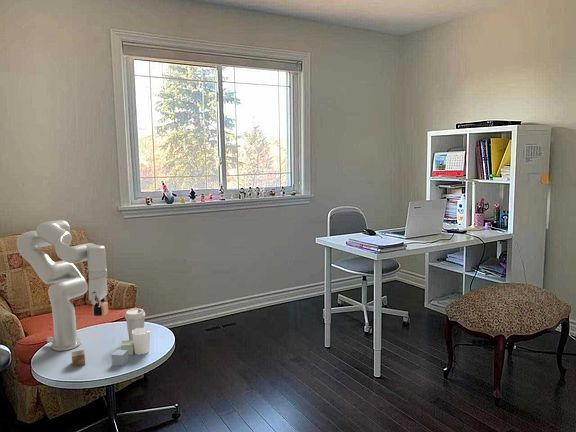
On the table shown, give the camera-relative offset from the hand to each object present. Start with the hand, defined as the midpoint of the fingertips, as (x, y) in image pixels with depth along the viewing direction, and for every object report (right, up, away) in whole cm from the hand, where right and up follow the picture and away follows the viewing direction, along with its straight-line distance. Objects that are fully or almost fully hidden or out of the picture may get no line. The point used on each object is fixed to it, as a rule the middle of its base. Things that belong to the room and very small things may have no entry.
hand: (100, 312), depth 201 cm
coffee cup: (+10, -18, +19) cm, 28 cm away
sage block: (+10, -20, +6) cm, 23 cm away
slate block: (+10, -21, -4) cm, 24 cm away
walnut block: (-8, -21, -4) cm, 23 cm away
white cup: (+16, -20, +7) cm, 26 cm away
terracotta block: (0, -1, 0) cm, 1 cm away
